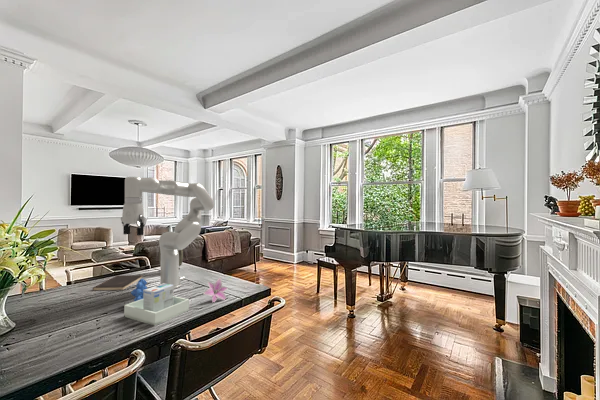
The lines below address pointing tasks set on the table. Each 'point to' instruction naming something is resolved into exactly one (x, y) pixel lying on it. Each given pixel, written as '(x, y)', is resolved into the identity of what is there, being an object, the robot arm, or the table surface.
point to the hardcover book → (118, 282)
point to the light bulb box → (158, 297)
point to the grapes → (139, 290)
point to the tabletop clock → (179, 257)
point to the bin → (155, 318)
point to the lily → (216, 290)
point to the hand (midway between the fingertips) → (133, 234)
